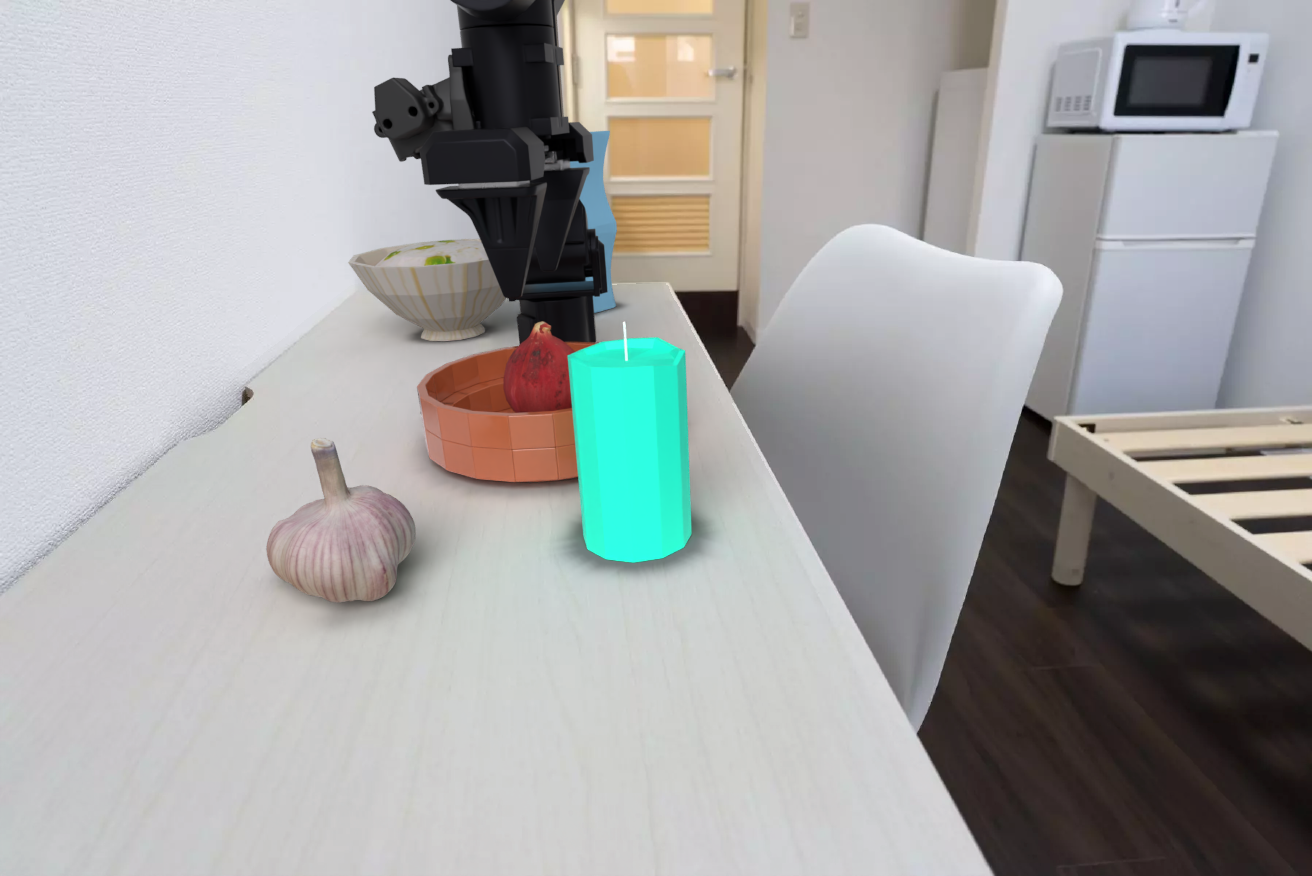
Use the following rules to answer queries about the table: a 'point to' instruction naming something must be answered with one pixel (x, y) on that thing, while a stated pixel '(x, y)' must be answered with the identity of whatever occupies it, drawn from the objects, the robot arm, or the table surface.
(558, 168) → the robot arm
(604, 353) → the candle
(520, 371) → the onion
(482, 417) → the terracotta bowl
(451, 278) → the bowl
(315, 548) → the garlic bulb
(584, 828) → the table surface
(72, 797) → the table surface
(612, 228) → the vase
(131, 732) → the table surface
